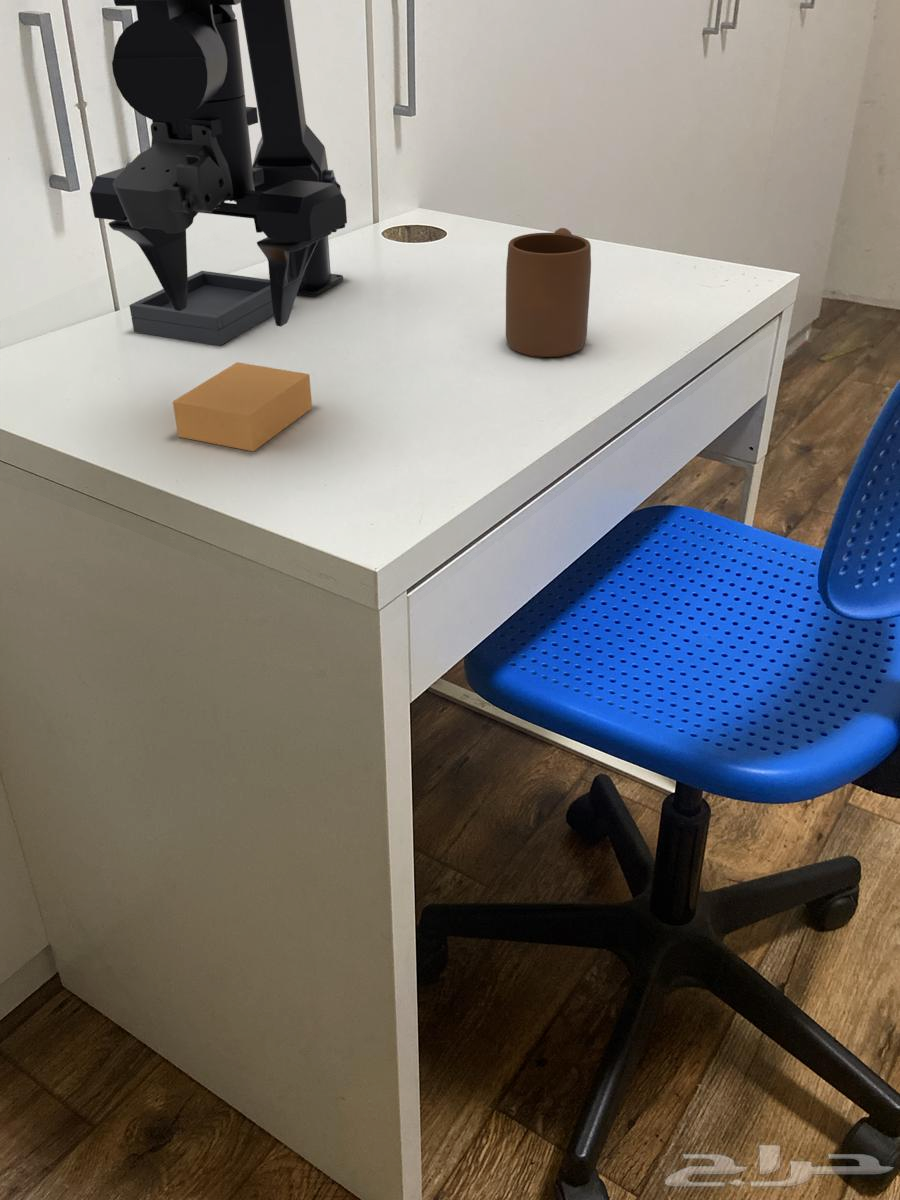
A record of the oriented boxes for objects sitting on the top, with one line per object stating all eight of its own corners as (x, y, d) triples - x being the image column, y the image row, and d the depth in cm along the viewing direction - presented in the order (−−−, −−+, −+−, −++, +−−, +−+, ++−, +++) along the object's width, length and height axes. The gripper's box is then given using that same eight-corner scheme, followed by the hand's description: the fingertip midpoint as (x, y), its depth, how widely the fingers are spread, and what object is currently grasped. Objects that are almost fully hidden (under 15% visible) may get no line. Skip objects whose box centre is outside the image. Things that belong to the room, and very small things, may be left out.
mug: (525, 313, 110) (527, 217, 105) (600, 319, 108) (606, 222, 103) (496, 355, 100) (497, 251, 95) (578, 362, 99) (584, 257, 93)
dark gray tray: (205, 295, 116) (201, 270, 115) (287, 307, 113) (284, 281, 111) (133, 332, 107) (128, 304, 105) (220, 345, 103) (216, 318, 102)
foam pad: (241, 395, 93) (236, 362, 92) (312, 408, 91) (309, 373, 89) (178, 436, 86) (172, 401, 85) (253, 451, 84) (249, 415, 82)
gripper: (15, 106, 73) (63, 334, 81) (254, 125, 66) (279, 370, 75) (122, 83, 81) (155, 291, 90) (343, 96, 75) (356, 320, 83)
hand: (230, 317), depth 84 cm, fingers open, 9 cm apart
